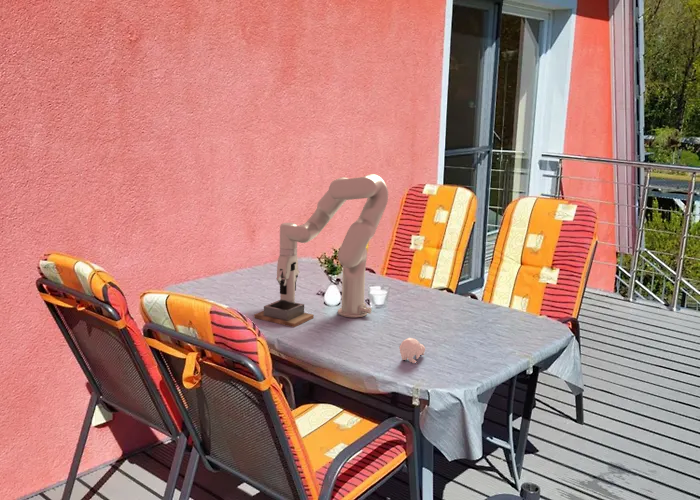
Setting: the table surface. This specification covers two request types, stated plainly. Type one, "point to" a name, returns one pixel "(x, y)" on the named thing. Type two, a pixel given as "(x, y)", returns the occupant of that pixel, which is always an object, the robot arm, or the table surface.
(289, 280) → the travel mug
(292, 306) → the gray square tray
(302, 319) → the walnut stand
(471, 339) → the table surface
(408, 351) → the pink animal figurine
